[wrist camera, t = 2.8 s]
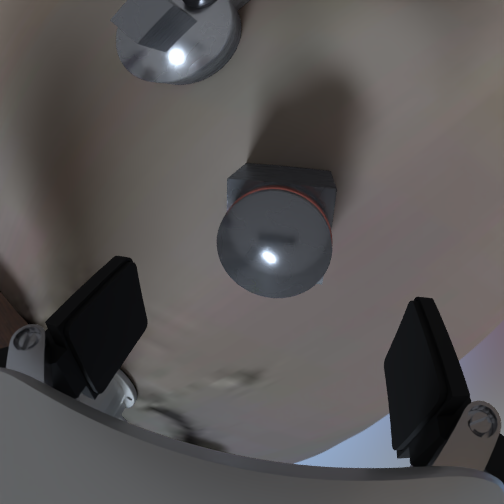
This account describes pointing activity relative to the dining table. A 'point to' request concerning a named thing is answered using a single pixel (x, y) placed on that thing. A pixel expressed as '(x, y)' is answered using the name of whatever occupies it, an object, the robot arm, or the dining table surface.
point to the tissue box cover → (8, 321)
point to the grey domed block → (277, 228)
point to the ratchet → (177, 38)
